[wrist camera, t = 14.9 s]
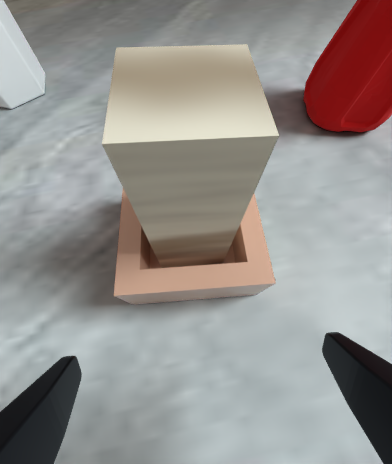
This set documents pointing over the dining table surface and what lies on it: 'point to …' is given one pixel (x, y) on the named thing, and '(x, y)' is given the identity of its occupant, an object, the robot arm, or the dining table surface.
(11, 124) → the dining table surface
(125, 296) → the socket
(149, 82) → the birch block
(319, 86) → the water bottle
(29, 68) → the jar
